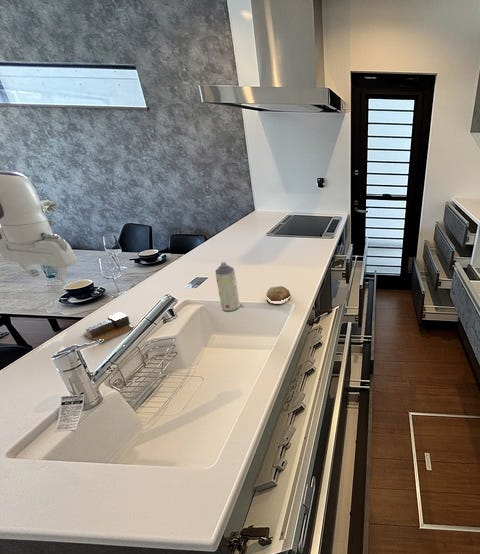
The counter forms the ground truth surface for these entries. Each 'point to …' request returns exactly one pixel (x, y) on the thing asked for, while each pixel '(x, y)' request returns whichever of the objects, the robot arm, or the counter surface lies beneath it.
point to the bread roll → (278, 293)
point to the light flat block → (112, 333)
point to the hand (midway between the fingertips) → (48, 277)
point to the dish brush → (108, 325)
